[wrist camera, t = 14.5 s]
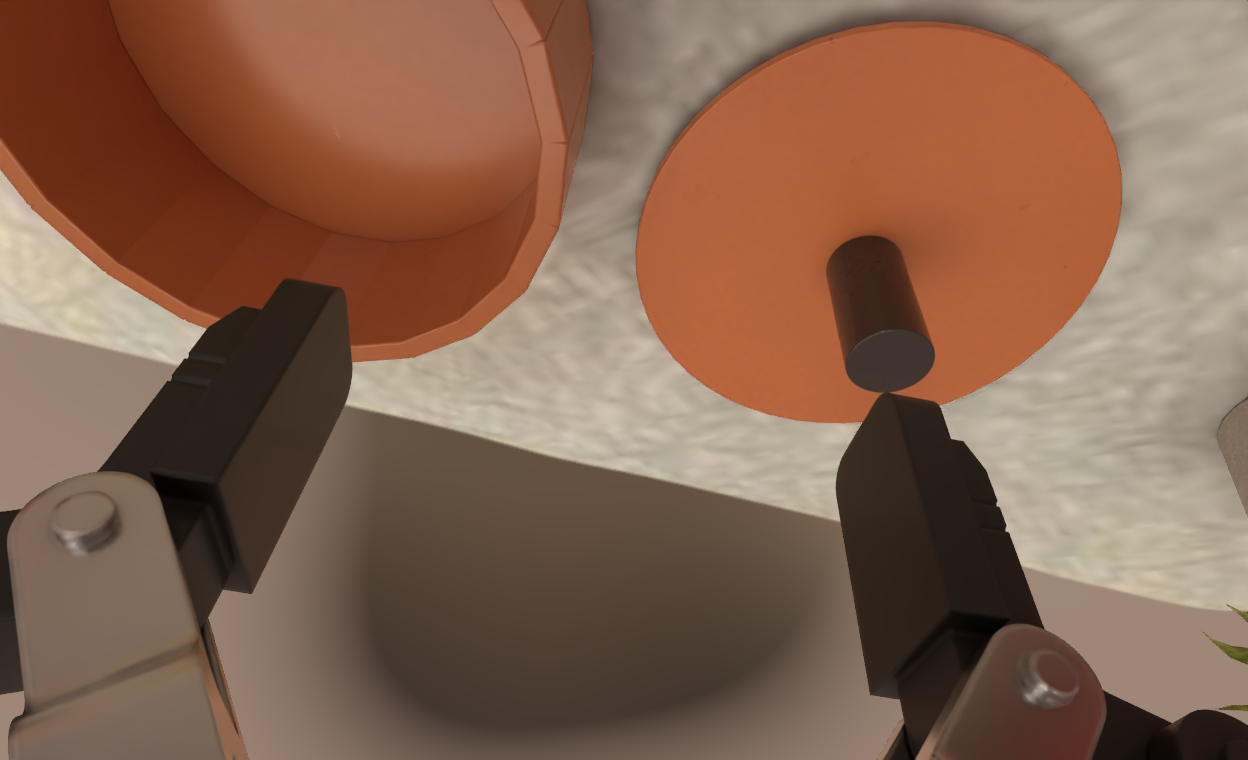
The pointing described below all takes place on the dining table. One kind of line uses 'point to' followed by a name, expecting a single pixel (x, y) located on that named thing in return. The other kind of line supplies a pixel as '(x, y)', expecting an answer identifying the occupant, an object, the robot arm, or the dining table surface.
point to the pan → (302, 149)
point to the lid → (878, 220)
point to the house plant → (1244, 449)
